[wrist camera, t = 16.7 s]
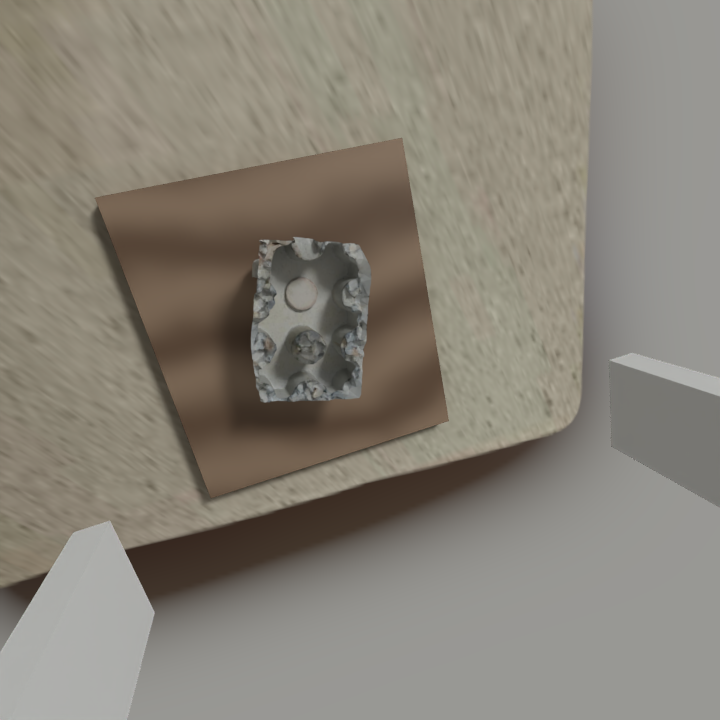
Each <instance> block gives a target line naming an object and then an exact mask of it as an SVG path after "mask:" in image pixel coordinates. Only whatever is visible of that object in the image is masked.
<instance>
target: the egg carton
mask: <svg viewBox="0 0 720 720" xmlns="http://www.w3.org/2000/svg"><path fill="white" fill-rule="evenodd" d="M293 239H294V240H293V241H281V240H260V241H259V242H260V248H259V259H257V260H254V261H253V264H252V277H255V278H258V279H257V289H256V293H255V294H254V307H253V311H254V314H253V321H252V330H251V351H252V359H253V366H254V373H255V377H256V388H257V390H258V391H259V395H260V401H261V402H264V403H266V402H271V401H287V402H295V401H317V400H318V401H330V400H333V399H354V398H360V396H361V387H362V374H363V370H362V362H363V357H364V351H363V350H364V346H365V344H366V341H367V318H368V302H369V295H370V286H371V268H370V265H369V262H368V261H367V259H366V257H365V255H364V253H363V251H362V249H361V248H360V246H359V245H358V244H354V243H346V244H343V243H340V242H331V241H325V242H318V241H315V240H314V239H309V238H300V237H293Z"/></svg>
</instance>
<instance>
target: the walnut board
mask: <svg viewBox="0 0 720 720" xmlns="http://www.w3.org/2000/svg"><path fill="white" fill-rule="evenodd" d="M95 199H96V202H97V204H98V207H99V210H100V212H101V215H102V217H103V220H104V223H105V225H106V228H107V230H108V233H109V235H110V238H111V241H112V243H113V246H114V248H115V251H116V254H117V256H118V259H119V261H120V264H121V267H122V269H123V272H124V274H125V277H126V280H127V282H128V285H129V287H130V290H131V293H132V295H133V298H134V300H135V303H136V306H137V308H138V311H139V313H140V316H141V319H142V321H143V324H144V326H145V329H146V331H147V334H148V337H149V339H150V342H151V344H152V347H153V350H154V352H155V355H156V357H157V360H158V363H159V365H160V368H161V370H162V373H163V376H164V378H165V381H166V383H167V386H168V389H169V391H170V394H171V396H172V399H173V402H174V404H175V407H176V409H177V412H178V414H179V417H180V420H181V422H182V425H183V427H184V430H185V433H186V435H187V438H188V440H189V443H190V446H191V448H192V451H193V453H194V456H195V459H196V461H197V464H198V466H199V469H200V472H201V474H202V477H203V479H204V482H205V485H206V487H207V490H208V492H209V495H210V497H211V498H214V497H217V496H220V495H223V494H226V493H229V492H232V491H235V490H238V489H241V488H244V487H247V486H250V485H254V484H257V483H260V482H263V481H266V480H269V479H272V478H275V477H278V476H281V475H284V474H287V473H290V472H293V471H297V470H300V469H303V468H306V467H309V466H312V465H315V464H318V463H321V462H324V461H327V460H330V459H333V458H336V457H339V456H343V455H346V454H349V453H352V452H355V451H358V450H361V449H364V448H367V447H370V446H373V445H376V444H379V443H382V442H386V441H389V440H392V439H395V438H398V437H401V436H404V435H407V434H410V433H413V432H416V431H419V430H422V429H425V428H428V427H432V426H435V425H438V424H441V423H444V422H447V421H449V419H448V413H447V407H446V401H445V395H444V389H443V383H442V377H441V371H440V365H439V359H438V353H437V347H436V340H435V334H434V328H433V322H432V316H431V310H430V304H429V298H428V292H427V286H426V280H425V274H424V268H423V262H422V256H421V249H420V243H419V237H418V231H417V225H416V219H415V213H414V207H413V201H412V195H411V189H410V183H409V177H408V171H407V165H406V159H405V152H404V146H403V140H402V138H399V139H394V140H389V141H384V142H378V143H373V144H368V145H363V146H358V147H353V148H348V149H342V150H337V151H332V152H327V153H322V154H317V155H312V156H306V157H301V158H296V159H291V160H286V161H281V162H276V163H270V164H265V165H260V166H255V167H250V168H245V169H240V170H235V171H229V172H224V173H219V174H214V175H209V176H204V177H199V178H193V179H188V180H183V181H178V182H173V183H168V184H163V185H157V186H152V187H147V188H142V189H137V190H132V191H127V192H121V193H116V194H111V195H106V196H101V197H96V198H95ZM293 237H300V238H309V239H314V240H315V241H318V242H325V241H331V242H340V243H343V244H346V243H354V244H358V245H359V246H360V248H361V249H362V251H363V253H364V255H365V257H366V259H367V261H368V262H369V265H370V268H371V286H370V295H369V302H368V318H367V341H366V344H365V346H364V350H363V351H364V357H363V362H362V370H363V374H362V387H361V396H360V398H354V399H333V400H330V401H318V400H317V401H295V402H287V401H271V402H266V403H264V402H261V401H260V395H259V391H258V390H257V388H256V377H255V373H254V366H253V359H252V351H251V330H252V321H253V314H254V311H253V307H254V294H255V293H256V289H257V279H258V278H255V277H252V264H253V261H254V260H257V259H259V248H260V242H259V241H260V240H281V241H293V240H294V239H293Z"/></svg>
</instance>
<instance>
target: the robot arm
mask: <svg viewBox="0 0 720 720" xmlns="http://www.w3.org/2000/svg"><path fill="white" fill-rule="evenodd" d="M609 377H610V411H611V445H612V447H613V448H615V449H617V450H618V451H620V452H622V453H624V454H626V455H627V456H629V457H631V458H633V459H634V460H636V461H638V462H640V463H642V464H643V465H645V466H647V467H649V468H650V469H652V470H654V471H656V472H658V473H659V474H661V475H663V476H665V477H667V478H669V479H670V480H672V481H674V482H675V483H677V484H679V485H681V486H683V487H684V488H686V489H688V490H690V491H691V492H693V493H695V494H697V495H699V496H700V497H702V498H704V499H706V500H708V501H709V502H711V503H713V504H715V505H716V506H718V507H720V378H718V377H715V376H712V375H708V374H704V373H701V372H698V371H694V370H690V369H687V368H684V367H680V366H676V365H673V364H669V363H666V362H663V361H659V360H655V359H652V358H648V357H645V356H642V355H638V354H635V353H630V354H627V355H624V356H621V357H618V358H615V359H611V360H609ZM154 613H155V612H154V610H153V608H152V606H151V604H150V602H149V600H148V598H147V596H146V594H145V592H144V590H143V588H142V586H141V583H140V582H139V579H138V577H137V575H136V573H135V571H134V569H133V567H132V565H131V563H130V561H129V559H128V557H127V555H126V553H125V551H124V549H123V547H122V544H121V542H120V540H119V538H118V536H117V534H116V532H115V530H114V528H113V526H112V524H111V522H110V521H108V522H104V523H101V524H98V525H95V526H92V527H89V528H86V529H83V530H80V531H76V532H73V534H72V535H71V537H70V539H69V540H68V542H67V544H66V545H65V547H64V549H63V550H62V552H61V553H60V555H59V557H58V558H57V560H56V562H55V563H54V565H53V567H52V568H51V570H50V571H49V573H48V575H47V576H46V578H45V580H44V581H43V583H42V585H41V586H40V588H39V590H38V591H37V593H36V594H35V596H34V598H33V599H32V601H31V603H30V604H29V606H28V608H27V609H26V611H25V612H24V614H23V616H22V617H21V619H20V621H19V623H18V624H17V626H16V627H15V629H14V631H13V632H12V634H11V635H10V637H9V639H8V640H7V642H6V644H5V645H4V647H3V649H2V650H1V652H0V720H127V718H128V714H129V710H130V706H131V702H132V699H133V694H134V691H135V687H136V683H137V679H138V675H139V671H140V668H141V663H142V660H143V656H144V652H145V648H146V644H147V640H148V636H149V633H150V629H151V625H152V621H153V617H154Z"/></svg>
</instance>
